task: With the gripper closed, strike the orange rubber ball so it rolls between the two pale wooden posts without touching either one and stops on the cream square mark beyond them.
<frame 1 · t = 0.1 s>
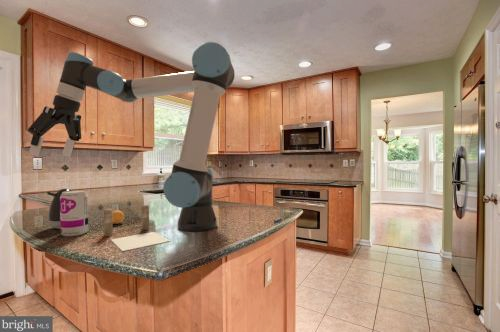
hand: (50, 155, 89), 28 cm above the countertop, tool tilted 20°, fingers open, 13 cm apart
post right: (145, 228, 96), on the countertop
ball: (116, 217, 104), on the countertop
post left: (108, 235, 88), on the countertop
supplement can: (74, 234, 90), on the countertop
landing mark: (140, 240, 82), on the countertop
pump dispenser: (64, 227, 99), on the countertop
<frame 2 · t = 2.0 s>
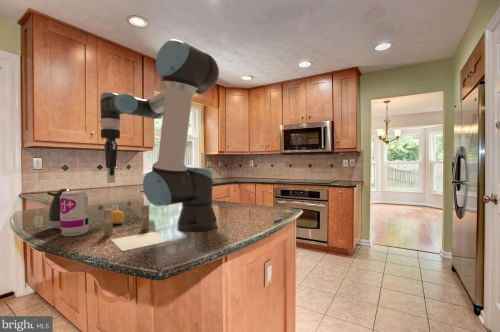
hand: (111, 182, 111), 16 cm above the countertop, tool pointing down, fingers closed
nothing on the countertop moved.
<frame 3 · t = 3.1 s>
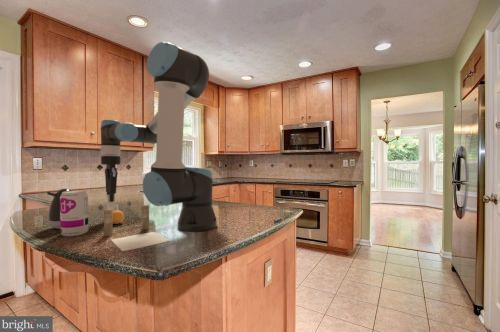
hand: (110, 208, 112), 5 cm above the countertop, tool pointing down, fingers closed
nothing on the countertop moved.
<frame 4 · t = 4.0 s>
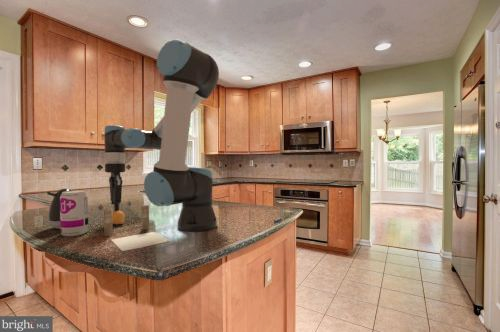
hand: (116, 218, 106), 2 cm above the countertop, tool pointing down, fingers closed
ball: (117, 217, 103), on the countertop, touching gripper
everything else where it was.
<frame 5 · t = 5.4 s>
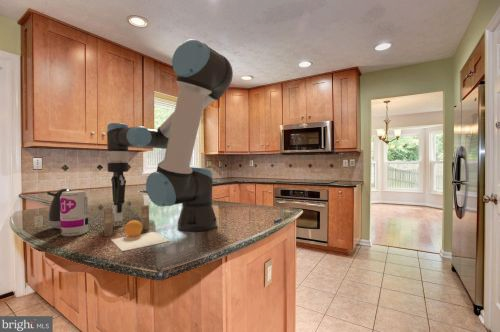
hand: (118, 220, 102), 2 cm above the countertop, tool pointing down, fingers closed
ball: (133, 228, 86), on the countertop
everything else where it was.
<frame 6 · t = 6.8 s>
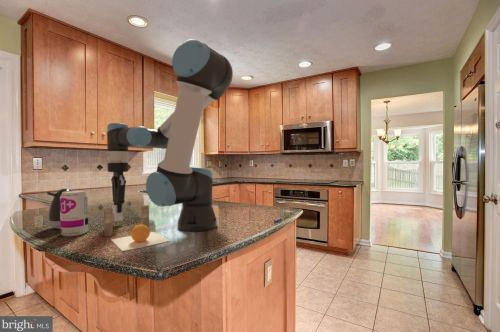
hand: (118, 220, 102), 2 cm above the countertop, tool pointing down, fingers closed
ball: (140, 233, 81), on the countertop
everything else where it was.
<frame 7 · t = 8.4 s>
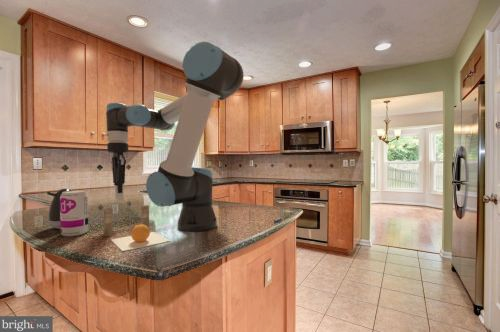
hand: (119, 201, 102), 10 cm above the countertop, tool pointing down, fingers closed
nothing on the countertop moved.
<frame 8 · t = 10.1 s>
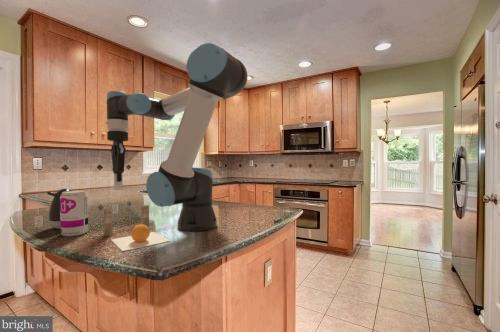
hand: (118, 189, 102), 14 cm above the countertop, tool pointing down, fingers closed
nothing on the countertop moved.
at the end: ball 1.1 cm from the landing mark (horizontally); ball never touched post left; ball never touched post right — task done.
